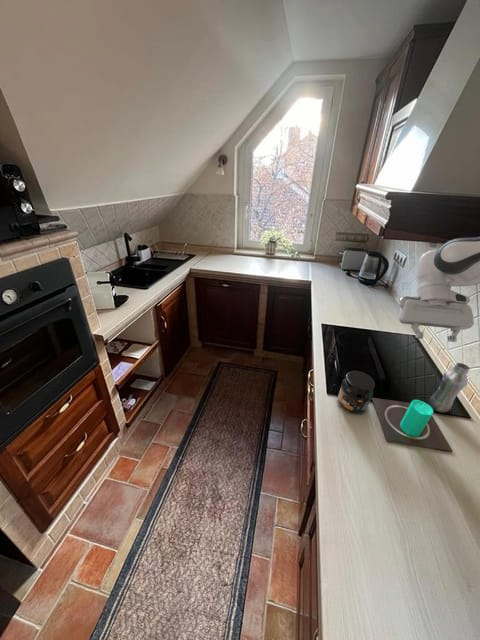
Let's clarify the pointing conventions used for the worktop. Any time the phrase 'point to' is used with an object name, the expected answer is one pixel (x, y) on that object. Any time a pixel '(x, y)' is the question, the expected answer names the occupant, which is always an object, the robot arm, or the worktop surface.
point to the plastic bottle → (449, 388)
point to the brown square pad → (390, 423)
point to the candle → (416, 418)
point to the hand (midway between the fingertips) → (435, 339)
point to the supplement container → (356, 392)
